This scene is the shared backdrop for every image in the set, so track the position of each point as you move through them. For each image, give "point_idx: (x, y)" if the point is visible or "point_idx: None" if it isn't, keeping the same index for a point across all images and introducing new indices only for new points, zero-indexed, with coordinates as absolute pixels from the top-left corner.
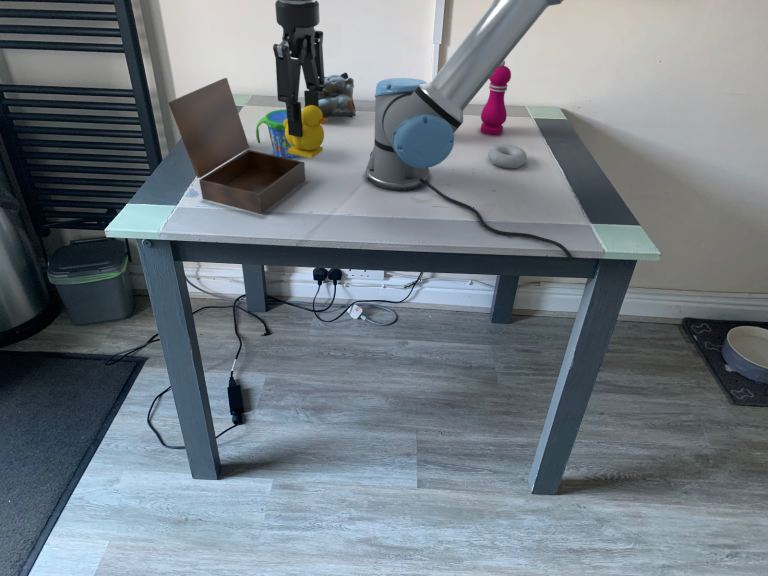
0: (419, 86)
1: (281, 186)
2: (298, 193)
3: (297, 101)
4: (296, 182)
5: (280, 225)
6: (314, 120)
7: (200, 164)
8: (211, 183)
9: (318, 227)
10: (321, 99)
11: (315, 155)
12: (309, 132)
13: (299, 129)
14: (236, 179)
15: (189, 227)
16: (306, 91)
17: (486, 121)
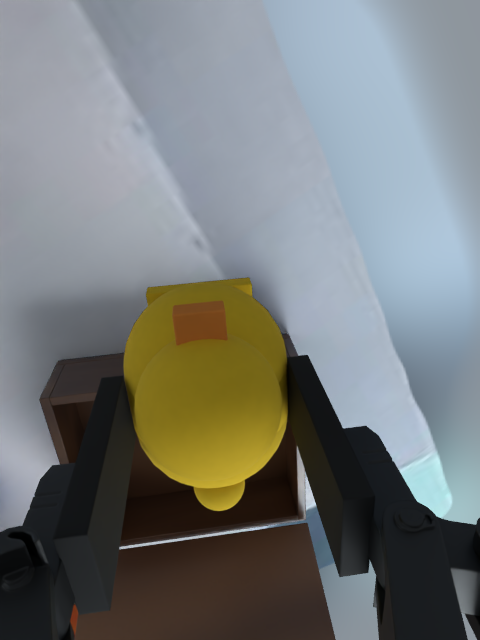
0: None
1: None
2: (126, 337)
3: (386, 513)
4: (106, 365)
5: (301, 271)
6: (260, 354)
7: (295, 555)
8: (304, 491)
9: (259, 173)
10: None
11: (218, 281)
12: (267, 341)
13: (319, 382)
14: (175, 489)
15: (398, 424)
16: (100, 600)
17: None
